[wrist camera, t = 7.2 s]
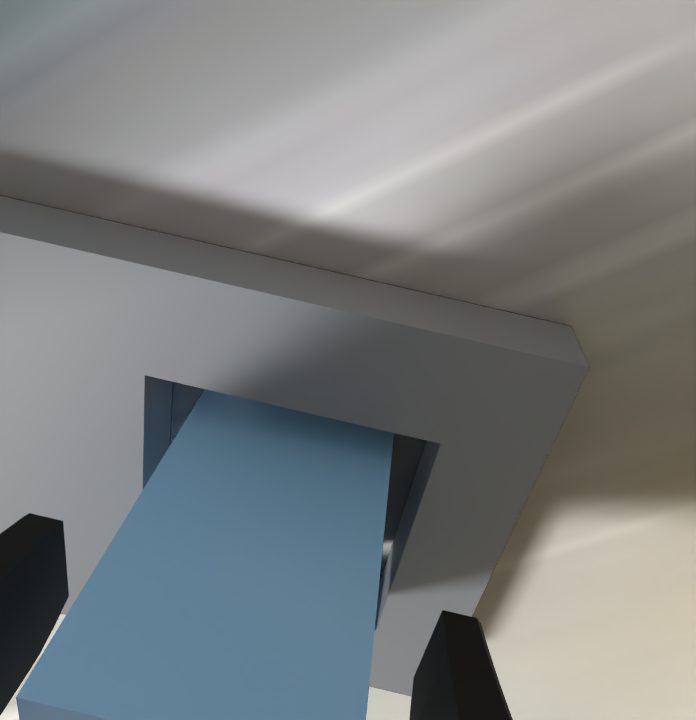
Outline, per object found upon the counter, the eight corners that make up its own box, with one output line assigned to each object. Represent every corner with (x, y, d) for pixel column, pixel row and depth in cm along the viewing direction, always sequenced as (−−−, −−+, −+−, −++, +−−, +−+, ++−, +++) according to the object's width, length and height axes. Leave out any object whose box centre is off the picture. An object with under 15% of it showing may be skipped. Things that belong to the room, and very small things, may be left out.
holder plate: (432, 646, 16) (432, 701, 15) (-245, 487, 17) (-302, 527, 15) (571, 326, 11) (589, 367, 10) (-411, 101, 11) (-518, 112, 10)
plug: (357, 547, 15) (304, 910, 9) (199, 509, 15) (39, 847, 9) (395, 419, 13) (359, 780, 7) (212, 376, 13) (15, 697, 7)
